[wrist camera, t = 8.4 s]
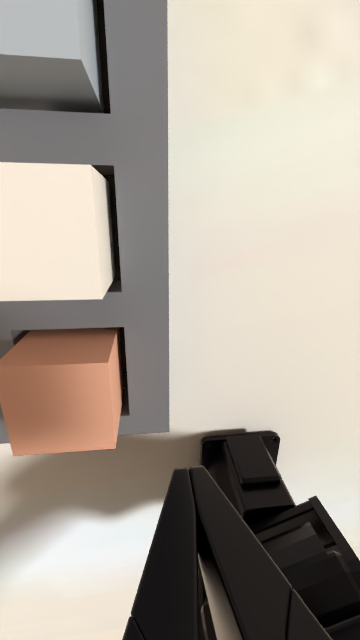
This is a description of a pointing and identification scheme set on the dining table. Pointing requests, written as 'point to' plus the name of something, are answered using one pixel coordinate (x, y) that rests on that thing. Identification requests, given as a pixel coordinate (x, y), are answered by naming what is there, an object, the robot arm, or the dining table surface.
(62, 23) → the light grey cube
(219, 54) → the dining table surface
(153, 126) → the grey slotted tray
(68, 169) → the cream key
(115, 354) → the terracotta key
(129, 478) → the dining table surface
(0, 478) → the dining table surface
